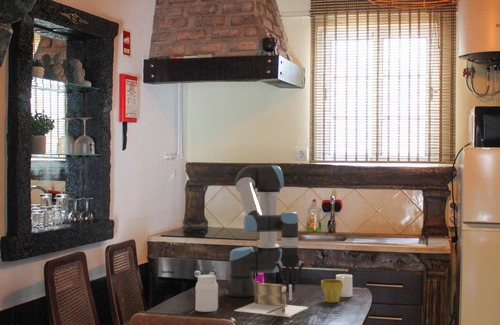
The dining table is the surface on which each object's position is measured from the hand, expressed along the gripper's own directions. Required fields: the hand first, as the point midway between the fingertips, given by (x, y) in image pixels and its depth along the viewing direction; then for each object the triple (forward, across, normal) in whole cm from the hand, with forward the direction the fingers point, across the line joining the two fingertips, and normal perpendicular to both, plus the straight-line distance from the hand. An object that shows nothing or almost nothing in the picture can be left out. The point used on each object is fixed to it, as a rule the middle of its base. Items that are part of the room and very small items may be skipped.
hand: (290, 299), depth 314 cm
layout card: (+5, -8, +6) cm, 12 cm away
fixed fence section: (+5, -10, +15) cm, 19 cm away
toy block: (+6, -21, +64) cm, 68 cm away
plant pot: (+6, +20, +25) cm, 33 cm away
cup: (+6, +27, +39) cm, 48 cm away
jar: (+5, -38, +5) cm, 39 cm away
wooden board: (+6, -3, +12) cm, 13 cm away
